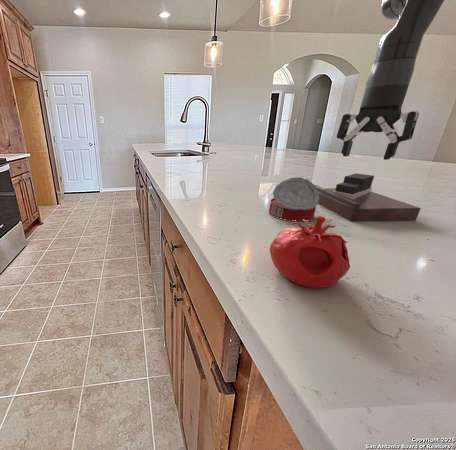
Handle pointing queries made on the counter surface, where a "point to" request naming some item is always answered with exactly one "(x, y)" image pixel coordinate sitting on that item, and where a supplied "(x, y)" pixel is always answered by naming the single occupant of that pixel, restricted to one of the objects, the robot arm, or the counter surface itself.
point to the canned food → (294, 200)
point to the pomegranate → (310, 255)
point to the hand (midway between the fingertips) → (364, 157)
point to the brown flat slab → (367, 207)
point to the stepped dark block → (355, 186)
